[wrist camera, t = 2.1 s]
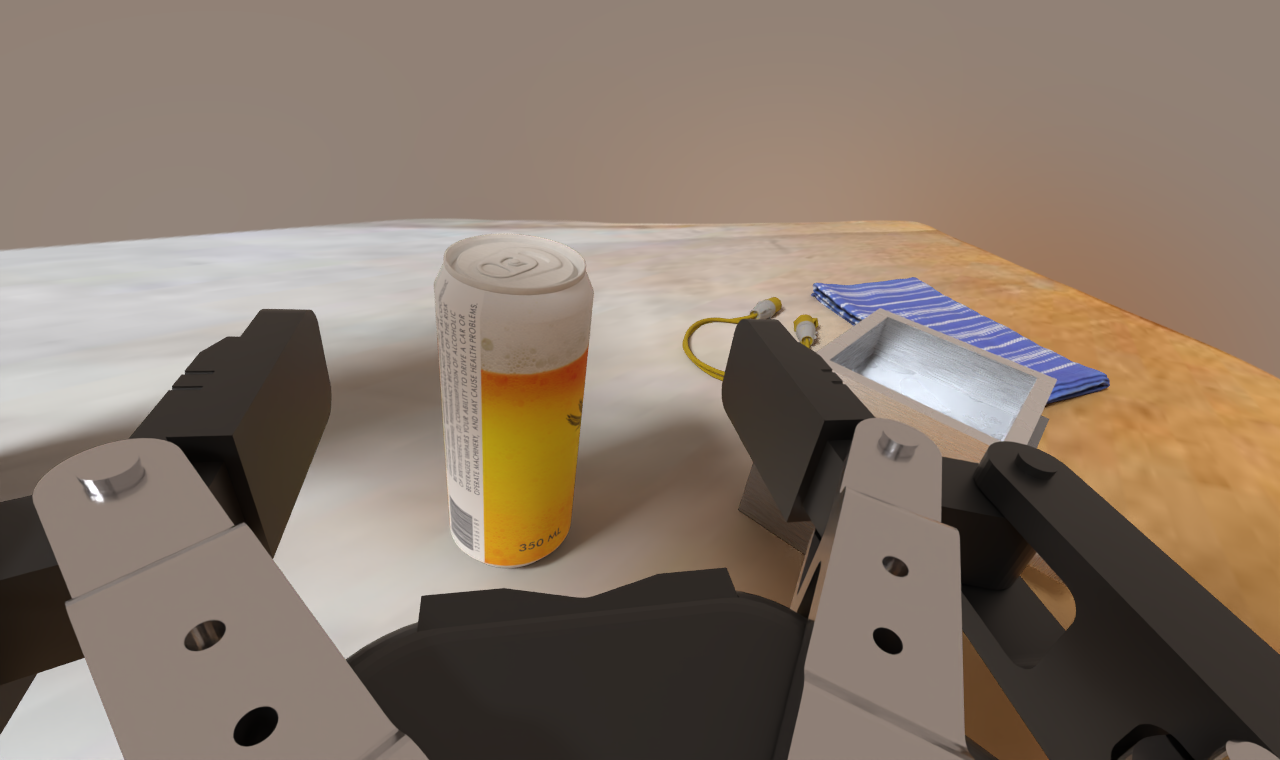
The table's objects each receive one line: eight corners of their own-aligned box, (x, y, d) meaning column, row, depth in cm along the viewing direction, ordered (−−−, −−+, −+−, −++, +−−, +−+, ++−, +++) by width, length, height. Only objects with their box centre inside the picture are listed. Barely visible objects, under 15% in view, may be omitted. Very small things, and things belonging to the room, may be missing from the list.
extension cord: (868, 370, 51) (876, 351, 50) (732, 407, 43) (739, 385, 42) (776, 309, 59) (781, 291, 58) (648, 331, 51) (651, 311, 50)
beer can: (592, 524, 31) (626, 263, 23) (512, 600, 26) (519, 310, 18) (510, 472, 33) (514, 220, 25) (424, 533, 29) (395, 251, 21)
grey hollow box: (738, 509, 33) (787, 356, 28) (820, 433, 41) (873, 300, 35) (1013, 694, 26) (1159, 537, 20) (1052, 560, 33) (1167, 417, 28)
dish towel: (993, 430, 45) (1010, 401, 44) (802, 298, 62) (810, 274, 61) (1109, 397, 53) (1127, 371, 51) (910, 287, 70) (919, 266, 68)
